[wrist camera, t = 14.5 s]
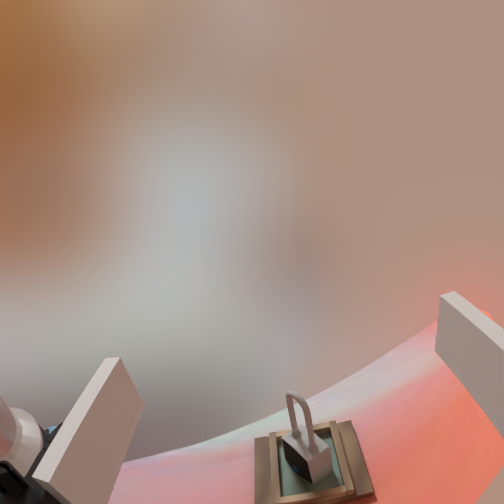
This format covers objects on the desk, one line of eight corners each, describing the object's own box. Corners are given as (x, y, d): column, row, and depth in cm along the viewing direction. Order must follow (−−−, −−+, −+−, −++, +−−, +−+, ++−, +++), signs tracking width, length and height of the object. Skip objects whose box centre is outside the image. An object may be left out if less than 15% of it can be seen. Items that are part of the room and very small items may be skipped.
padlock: (282, 459, 35) (262, 388, 31) (305, 444, 37) (292, 371, 33) (311, 487, 29) (299, 420, 25) (336, 469, 31) (331, 397, 27)
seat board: (256, 516, 27) (252, 509, 27) (256, 442, 41) (252, 432, 40) (372, 494, 26) (374, 486, 26) (350, 424, 40) (350, 414, 39)
